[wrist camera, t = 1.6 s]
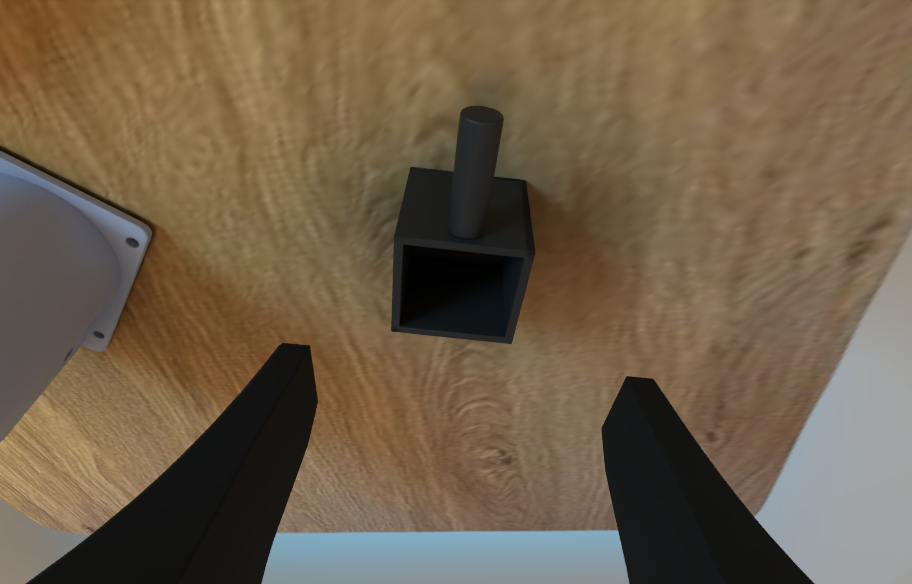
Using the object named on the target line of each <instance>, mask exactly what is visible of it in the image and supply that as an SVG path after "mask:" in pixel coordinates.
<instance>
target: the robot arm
mask: <svg viewBox="0 0 912 584" xmlns="http://www.w3.org/2000/svg"><path fill="white" fill-rule="evenodd" d="M151 237H152V231H151V229H150V228H149V227H148V226H147V225H146V224H145V223H143V222H141V221H139V220H137V219H135V218H133V217H131V216H129V215H127V214H125V213H123V212H121V211H119V210H117V209H115V208H113V207H111V206H109V205H107V204H106V203H104V202H102V201H100V200H98V199H96V198H94V197H92V196H90V195H88V194H86V193H84V192H82V191H80V190H78V189H76V188H74V187H72V186H70V185H68V184H66V183H64V182H62V181H60V180H58V179H56V178H54V177H52V176H50V175H48V174H46V173H44V172H42V171H40V170H38V169H36V168H34V167H32V166H30V165H28V164H26V163H24V162H22V161H20V160H18V159H16V158H14V157H12V156H10V155H8V154H6V153H4V152H2V151H0V442H1V441H2V440H3V439H4V438H5V437H6V436H7V435H8V434H9V433H10V431H11V430H12V429H13V428H14V426H15V425H16V424H17V423H18V422H19V420H20V419H21V418H22V417H23V416H24V414H25V413H26V412H27V411H28V409H29V408H30V407H31V406H32V405H33V403H34V402H35V401H36V400H37V399H38V397H39V396H40V395H41V394H42V392H43V391H44V390H45V389H46V388H47V386H48V385H49V384H50V383H51V382H52V380H53V379H54V378H55V377H56V375H57V374H58V373H59V372H60V371H61V369H62V368H63V367H64V366H65V365H66V363H67V362H68V361H69V360H70V358H71V357H72V356H73V355H74V354H75V352H76V351H77V350H78V349H79V348H80V346H83V347H85V348H88V349H90V350H93V351H96V352H102V351H105V349H106V348H107V347H108V346H109V344H110V341H111V338H112V336H113V333H114V331H115V328H116V326H117V323H118V321H119V318H120V316H121V313H122V311H123V308H124V306H125V303H126V301H127V298H128V296H129V293H130V290H131V288H132V285H133V283H134V280H135V278H136V275H137V273H138V270H139V268H140V265H141V263H142V260H143V258H144V255H145V253H146V250H147V247H148V245H149V242H150V240H151ZM132 238H134V239H135V240H137V241H138V242H136V241H134V240H133V239H132ZM317 403H318V398H317V391H316V384H315V377H314V370H313V363H312V356H311V349H310V345H300V344H289V343H282V344H281V345H279V346H278V347H277V348H276V350H275V351H274V352H273V354H272V355H271V356H270V357H269V359H268V360H267V361H266V362H265V364H264V365H263V366H262V367H261V369H260V370H259V371H258V372H257V374H256V375H255V376H254V377H253V378H252V380H251V381H250V382H249V383H248V384H247V386H246V387H245V388H244V389H243V390H242V391H241V393H240V394H239V395H238V396H237V397H236V398H235V399H234V400H233V402H232V403H231V404H230V405H229V406H228V407H227V408H226V409H225V411H224V412H223V413H222V414H221V415H220V416H219V417H218V418H217V419H216V421H215V422H214V423H213V424H212V425H211V426H210V427H209V428H208V429H207V430H206V431H205V432H204V433H203V434H202V435H201V436H200V437H199V438H198V439H197V440H196V441H195V442H194V443H193V444H192V445H191V446H190V447H189V448H188V449H187V450H186V451H185V452H184V453H183V454H182V455H181V457H179V458H178V459H177V460H176V461H175V462H174V463H173V464H172V465H171V466H170V467H169V468H168V469H167V470H166V471H165V472H164V473H163V474H162V475H161V476H159V477H158V478H157V479H156V480H155V481H154V482H153V483H152V484H151V485H150V486H148V487H147V488H146V489H145V490H144V491H143V492H142V493H141V494H139V495H138V496H137V497H136V498H135V499H134V500H133V501H131V502H130V503H129V504H128V505H127V506H125V507H124V508H123V509H122V510H121V511H119V512H118V513H117V514H116V515H115V516H113V517H112V518H111V519H110V520H109V521H107V522H106V523H105V524H104V525H103V526H101V527H100V528H99V529H98V530H96V531H95V532H94V533H93V534H91V535H90V536H89V537H88V538H86V539H85V540H84V541H83V542H81V543H80V544H79V545H77V546H76V547H75V548H74V549H72V550H71V551H70V552H68V553H67V554H65V555H64V556H63V557H61V558H60V559H59V560H57V561H56V562H55V563H53V564H52V565H50V566H49V567H48V568H46V569H45V570H44V571H42V572H41V573H40V574H38V575H37V576H36V577H34V578H33V579H32V580H30V581H29V582H27V583H26V584H261V582H262V579H263V575H264V571H265V567H266V563H267V560H268V556H269V553H270V550H271V547H272V544H273V541H274V537H275V535H276V532H277V529H278V526H279V524H280V521H281V518H282V515H283V513H284V510H285V507H286V504H287V501H288V499H289V496H290V493H291V490H292V488H293V485H294V482H295V479H296V477H297V474H298V471H299V468H300V465H301V462H302V460H303V457H304V454H305V451H306V448H307V445H308V442H309V438H310V434H311V430H312V426H313V421H314V417H315V412H316V408H317ZM602 440H603V452H604V462H605V471H606V476H607V481H608V486H609V490H610V495H611V500H612V504H613V509H614V513H615V518H616V522H617V527H618V531H619V536H620V540H621V545H622V549H623V554H624V558H625V563H626V567H627V573H628V578H629V583H630V584H814V583H813V582H812V581H811V580H810V579H809V578H808V577H807V576H806V574H805V573H803V571H802V570H801V569H800V568H799V567H798V566H797V565H796V564H795V563H794V562H793V561H792V560H791V558H789V556H788V555H787V554H786V553H785V552H784V551H783V550H782V548H781V547H780V546H779V545H778V544H777V543H776V542H775V541H774V540H773V539H772V538H771V536H770V535H769V534H768V533H767V532H766V531H765V529H764V528H762V526H761V525H760V524H759V522H758V521H757V520H756V519H755V518H754V516H753V515H752V514H751V513H750V511H749V510H748V509H747V508H746V507H745V505H744V504H743V503H742V502H741V500H740V499H739V498H738V497H737V495H736V494H735V493H734V492H733V490H732V489H731V488H730V486H729V485H728V484H727V482H726V481H725V480H724V479H723V477H722V476H721V475H720V473H719V472H718V471H717V469H716V468H715V466H714V465H713V464H712V462H711V461H710V460H709V458H708V457H707V456H706V454H705V453H704V451H703V450H702V449H701V447H700V446H699V445H698V443H697V442H696V440H695V439H694V437H693V436H692V435H691V433H690V432H689V430H688V429H687V427H686V426H685V425H684V423H683V422H682V420H681V419H680V417H679V416H678V414H677V413H676V411H675V410H674V408H673V407H672V405H671V404H670V403H669V401H668V400H667V398H666V397H665V395H664V394H663V392H662V391H661V389H660V388H659V386H658V385H657V383H656V382H655V381H654V379H650V378H639V377H629V376H627V377H626V379H625V381H624V383H623V385H622V387H621V389H620V391H619V393H618V395H617V397H616V399H615V401H614V403H613V406H612V408H611V410H610V412H609V414H608V416H607V418H606V420H605V422H604V424H603V426H602Z"/></svg>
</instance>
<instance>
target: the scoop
mask: <svg viewBox="0 0 912 584" xmlns="http://www.w3.org/2000/svg"><path fill="white" fill-rule="evenodd" d="M503 121H504V118H503V115H502V114H501V113H500V112H499V111H497V110H495V109H492V108H489V107H484V106H470V107H466V108H464V109H462V111H461V113H460V119H459V128H458V137H457V146H456V155H455V164H454V172H449V171H441V170H432V169H423V168H415V167H411V168H410V172H409V176H408V180H407V185H406V189H405V193H404V197H403V201H402V206H401V210H400V214H399V218H398V223H397V227H396V231H395V235H394V259H393V292H392V324H391V331H392V332H402V333H411V334H421V335H431V336H440V337H450V338H459V339H469V340H478V341H488V342H498V343H507V344H512V340H513V336H514V333H515V329H516V325H517V321H518V317H519V313H520V309H521V305H522V302H523V298H524V294H525V290H526V286H527V282H528V278H529V274H530V271H531V267H532V263H533V259H534V255H535V246H534V238H533V231H532V223H531V215H530V207H529V199H528V192H527V184H526V180H518V179H509V178H501V177H494V173H495V168H496V162H497V156H498V150H499V144H500V138H501V132H502V127H503Z"/></svg>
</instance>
